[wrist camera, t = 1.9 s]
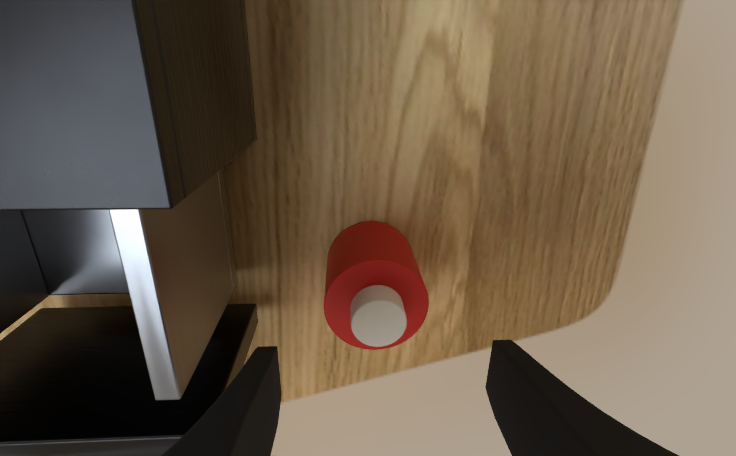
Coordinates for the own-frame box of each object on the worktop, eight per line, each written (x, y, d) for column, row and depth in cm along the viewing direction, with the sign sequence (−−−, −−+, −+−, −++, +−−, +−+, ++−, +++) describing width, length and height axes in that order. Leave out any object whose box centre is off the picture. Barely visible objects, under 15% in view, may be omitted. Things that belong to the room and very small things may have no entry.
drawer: (265, 385, 22) (227, 540, 15) (70, 392, 21) (-69, 557, 14) (229, 60, 16) (134, 52, 9) (-47, 56, 15) (-403, 44, 8)
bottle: (409, 296, 21) (430, 367, 16) (328, 298, 21) (324, 371, 16) (414, 221, 20) (439, 273, 15) (326, 221, 20) (320, 275, 14)
